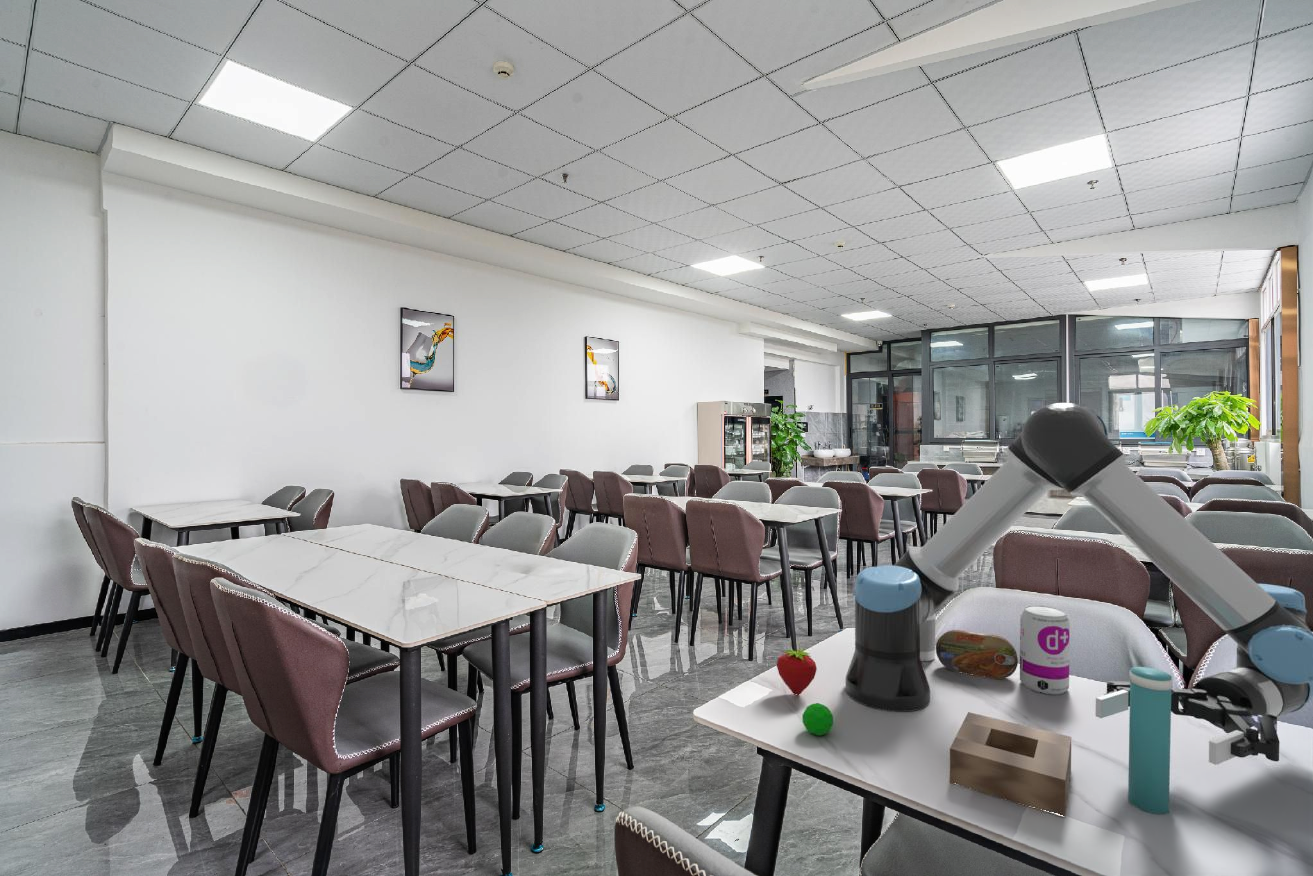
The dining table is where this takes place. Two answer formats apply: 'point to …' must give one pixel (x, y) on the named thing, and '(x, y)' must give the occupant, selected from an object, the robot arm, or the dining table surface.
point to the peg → (1149, 739)
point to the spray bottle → (927, 639)
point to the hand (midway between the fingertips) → (1151, 728)
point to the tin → (977, 654)
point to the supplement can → (1044, 649)
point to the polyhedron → (817, 719)
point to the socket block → (1012, 762)
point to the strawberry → (796, 670)
